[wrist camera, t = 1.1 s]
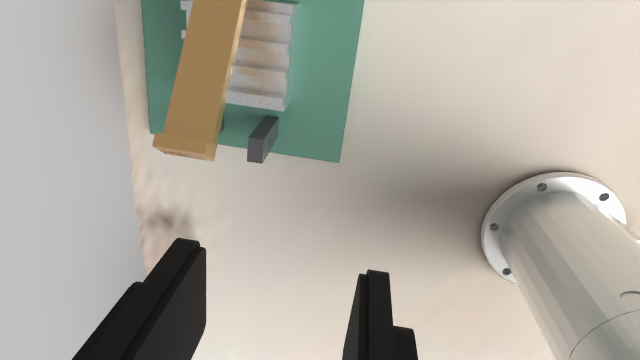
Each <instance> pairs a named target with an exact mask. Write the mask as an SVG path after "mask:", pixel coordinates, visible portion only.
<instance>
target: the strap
mask: <svg viewBox="0 0 640 360" xmlns="http://www.w3.org/2000/svg"><path fill="white" fill-rule="evenodd" d="M246 3H247V0H193V4H192V9H191V13H190V17H189V22H188V26H187V30H186V35H185V39H184V43H183V48H182V52H181V56H180V61H179V65H178V69H177V74H176V78H175V82H174V87H173V91H172V95H171V100H170V104H169V108H168V113H167V117H166V121H165V126H164V130H163V134H162V133H155V137H154V141H153V147H155V148H157V149H158V150H160V151H162V152H164V153H165V154H171V155H177V156H184V157H190V158H196V159H203V160H209V161H214V157H215V152H216V147H217V143H218V138H219V133H220V128H221V123H222V118H223V114H224V109H225V104H226V99H227V94H228V90H229V85H230V80H231V75H232V70H233V66H234V61H235V56H236V51H237V46H238V42H239V37H240V32H241V27H242V22H243V18H244V13H245V8H246Z"/></svg>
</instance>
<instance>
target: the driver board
mask: <svg viewBox="0 0 640 360" xmlns="http://www.w3.org/2000/svg"><path fill="white" fill-rule="evenodd" d="M141 1H142V16H143V31H144V47H145V62H146V77H147V93H148V108H149V123H150V133H151V134H155V133H162V134H163V130H164V126H165V121H166V117H167V113H168V108H169V104H170V100H171V95H172V91H173V87H174V82H175V78H176V74H177V69H178V65H179V61H180V56H181V52H182V48H183V43H184V39H182V38H181V30H183V29H187V22H186V10H181V2H180V1H182V0H141ZM279 1H286V2H293V3H300V6H299V17H298V27H297V38H296V49H295V60H294V71H293V81H292V92H291V102H290V104H289V105H288V107H287V108H286V110H285V111H284V112H283V111H277V110H270V109H264V108H257V107H250V106H244V105H237V104H231V103H226V104H225V109H224V114H223V118H222V123H221V128H220V133H219V138H218V143H217V144H221V145H228V146H234V147H240V148H247V149H248V153H247V161H248V162H255V163H261V164H262V163H263V161H264V160H265V158H266V156H267V155H268V153H269V152H273V153H279V154H285V155H292V156H298V157H305V158H311V159H317V160H324V161H330V162H337V163H339V159H340V152H341V146H342V140H343V133H344V127H345V121H346V114H347V108H348V101H349V95H350V89H351V82H352V76H353V70H354V63H355V57H356V51H357V44H358V38H359V31H360V25H361V19H362V12H363V6H364V0H279Z"/></svg>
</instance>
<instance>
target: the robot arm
mask: <svg viewBox="0 0 640 360" xmlns="http://www.w3.org/2000/svg"><path fill="white" fill-rule="evenodd" d="M538 184H539V185H538ZM626 224H627V221H626V214H625V210H624V208H623V205H622V203H621V201H620V200H619V198H618V197H617V196H616V195H615V193H614V192H613V191H611V190H610V189H609V188H608V187H607V186H606V185H604V184H603V183H601V182H599V181H598V180H596V179H594V178H592V177H589V176H586V175H583V174H579V173H573V172H551V173H546V174H540V175H537V176H534V177H531V178H528V179H525V180H524V181H522V182H520V183H518V184H516V185H514V186H512V187H511V188H510V189H508V190H507V191H506V192H504V193H503V194H502V195H501V196H500V197H499V198H498V199H497V200H496V201H495V202H494V203H493V205H492V206H491V208H490V209H489V211H488V212H487V214H486V216H485V219H484V221H483V223H482V229H481V245H482V248H483V251H484V254H485V256H486V258H487V260H488V263H489V264H490V265H491V266H492V268H493V269H494V270H495V271H496V272H497V273H498V274H499V275H500V276H501V277H503V278H505V279H507V280H508V281H510V282H512V283H515V284H518V286H519V288H520V290H521V292H522V294H523V296H524V298H525V300H526V302H527V304H528V305H529V307H530V309H531V311H532V313H533V315H534V317H535V319H536V321H537V323H538V325H539V327H540V329H541V331H542V333H543V335H544V337H545V339H546V341H547V343H548V345H549V347H550V349H551V351H552V353H553V355H554V357H555V359H556V360H640V239H639V238H638V237H637V236H636V235H634V234H633V233H632V232H631V231H630V230H629V229H628V228H627V227H626ZM205 325H206V249H205V248H203V247H200V243H199V242H198V241H194V240H188V239H182V238H177V239H176V240H175V241H174V242H173V243H172V245H171V246H170V247H169V249H168V250H167V251H166V253H165V254H164V255H163V257H162V258H161V259H160V261H159V262H158V263H157V264H156V266H155V267H154V268H153V270H152V271H151V272H150V274H149V275H148V276H147V278H146V279H145V280H144V282H143V283H142V282H135V283H133V284H132V285H131V286H130V287H129V288H128V289H127V291H126V292H125V293H124V294H123V296H122V297H121V298H120V299H119V301H118V302H117V303H116V305H115V306H114V307H113V308H112V309H111V311H110V312H109V313H108V314H107V316H106V317H105V318H104V320H103V321H102V322H101V323H100V325H99V326H98V327H97V328H96V330H95V331H94V332H93V333H92V335H91V336H90V337H89V338H88V340H87V341H86V342H85V344H84V345H83V346H82V347H81V349H80V350H79V351H78V352H77V354H76V355H75V356H74V357H73V359H72V360H191V358H192V356H193V354H194V352H195V350H196V348H197V346H198V344H199V341H200V339H201V337H202V335H203V333H204V329H205ZM342 360H418V356H417V349H416V341H415V335H414V331H413V329H410V328H404V327H398V326H393V318H392V305H391V292H390V279H389V273H387V272H381V271H375V270H369V269H368V271H367V274H366V275H365V274H359V277H358V281H357V286H356V291H355V296H354V300H353V305H352V310H351V315H350V320H349V324H348V329H347V334H346V339H345V343H344V349H343V357H342Z"/></svg>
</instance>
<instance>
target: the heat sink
mask: <svg viewBox="0 0 640 360" xmlns="http://www.w3.org/2000/svg"><path fill="white" fill-rule="evenodd" d="M180 2H181V10H186V22H187V26H188V22H189V17H190V13H191V9H192V4H193V0H182V1H180ZM299 6H300V3H293V2H286V1H279V0H247V3H246V8H245V13H244V18H243V22H242V27H241V32H240V37H239V42H238V46H237V51H236V56H235V61H234V66H233V70H232V75H231V80H230V85H229V90H228V94H227V99H226V103H231V104H237V105H244V106H250V107H257V108H264V109H270V110H277V111H283V112H284V111H285V110H286V108H287V107H288V105H289V104H290V102H291V92H292V81H293V71H294V60H295V49H296V38H297V27H298V17H299ZM186 30H187V29H183V30H181V38H182V39H185V35H186Z"/></svg>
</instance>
